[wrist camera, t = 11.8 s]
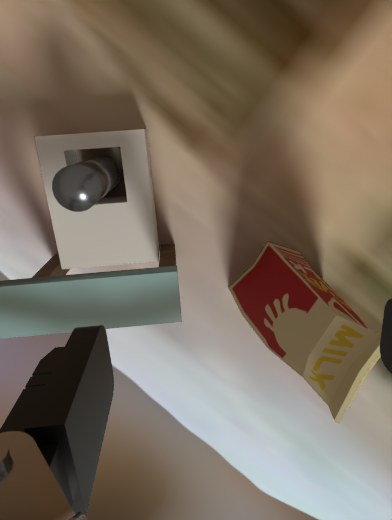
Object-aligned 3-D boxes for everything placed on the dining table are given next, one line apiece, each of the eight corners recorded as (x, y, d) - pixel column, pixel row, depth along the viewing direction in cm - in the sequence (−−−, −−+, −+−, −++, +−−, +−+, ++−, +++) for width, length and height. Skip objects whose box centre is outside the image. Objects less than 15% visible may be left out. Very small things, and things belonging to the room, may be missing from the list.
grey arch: (48, 233, 39) (-23, 288, 24) (174, 223, 39) (177, 271, 25) (56, 267, 40) (-7, 339, 26) (177, 257, 41) (181, 321, 26)
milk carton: (280, 328, 45) (360, 465, 26) (225, 290, 43) (270, 410, 24) (329, 275, 43) (454, 382, 24) (274, 231, 41) (365, 313, 22)
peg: (90, 190, 38) (57, 213, 26) (85, 157, 36) (47, 167, 25) (122, 188, 38) (102, 210, 26) (118, 155, 37) (95, 163, 25)
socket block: (48, 136, 35) (34, 136, 32) (146, 129, 36) (144, 129, 32) (72, 256, 40) (61, 269, 36) (159, 249, 40) (158, 261, 36)
